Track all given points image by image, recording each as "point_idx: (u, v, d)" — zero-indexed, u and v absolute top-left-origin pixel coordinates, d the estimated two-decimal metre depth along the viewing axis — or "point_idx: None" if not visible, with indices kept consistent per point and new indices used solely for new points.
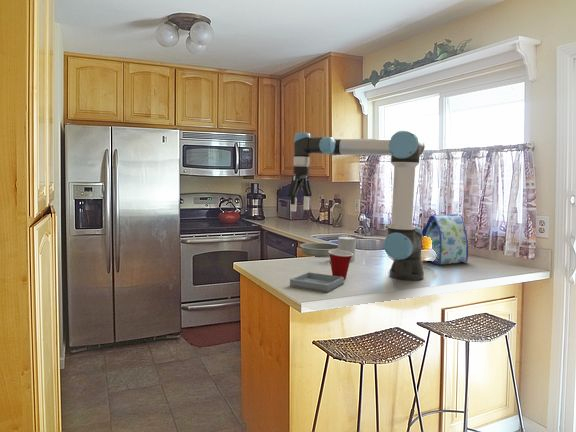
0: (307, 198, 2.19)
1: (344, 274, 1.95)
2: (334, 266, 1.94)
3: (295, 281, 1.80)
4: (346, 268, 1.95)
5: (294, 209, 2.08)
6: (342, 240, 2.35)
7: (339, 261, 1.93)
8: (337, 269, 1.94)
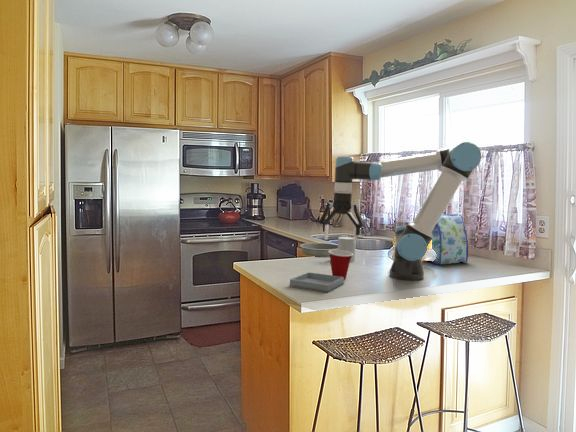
0: None
1: (344, 274, 1.95)
2: (334, 266, 1.94)
3: (295, 281, 1.80)
4: (346, 268, 1.95)
5: None
6: (342, 240, 2.35)
7: (339, 261, 1.93)
8: (337, 269, 1.94)
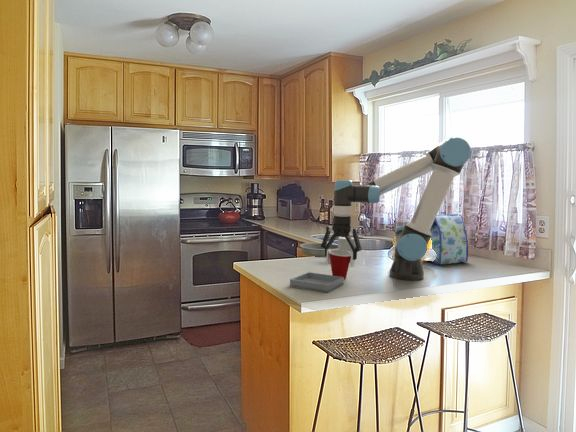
0: None
1: (344, 274, 1.95)
2: (334, 266, 1.94)
3: (295, 281, 1.80)
4: (346, 268, 1.95)
5: None
6: (342, 240, 2.35)
7: (339, 261, 1.93)
8: (337, 269, 1.94)
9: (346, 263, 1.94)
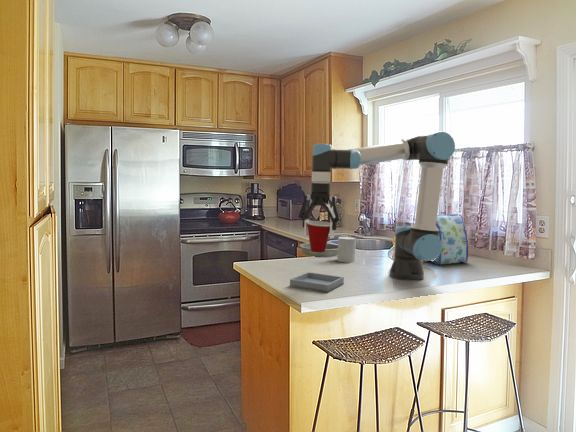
0: None
1: (323, 246, 1.80)
2: (312, 237, 1.80)
3: (295, 281, 1.80)
4: (325, 239, 1.80)
5: None
6: (342, 240, 2.35)
7: (318, 232, 1.78)
8: (315, 241, 1.79)
9: (325, 234, 1.79)
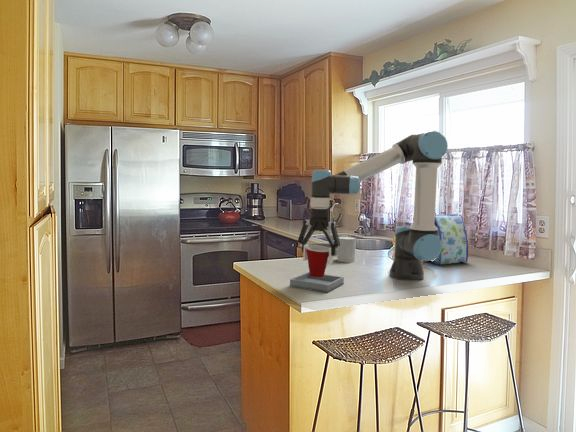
0: None
1: (322, 271, 1.81)
2: (311, 262, 1.81)
3: (295, 281, 1.80)
4: (324, 264, 1.81)
5: None
6: (342, 240, 2.35)
7: (317, 257, 1.79)
8: (314, 266, 1.80)
9: (324, 259, 1.80)
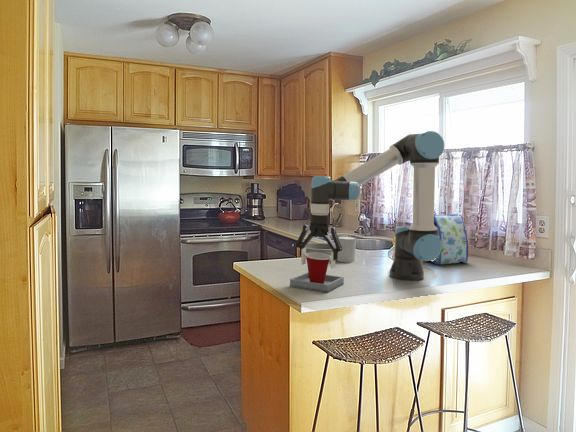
0: None
1: (322, 279, 1.82)
2: (311, 270, 1.81)
3: (295, 281, 1.80)
4: (324, 272, 1.81)
5: None
6: (342, 240, 2.35)
7: (316, 265, 1.79)
8: (314, 274, 1.81)
9: (324, 267, 1.80)
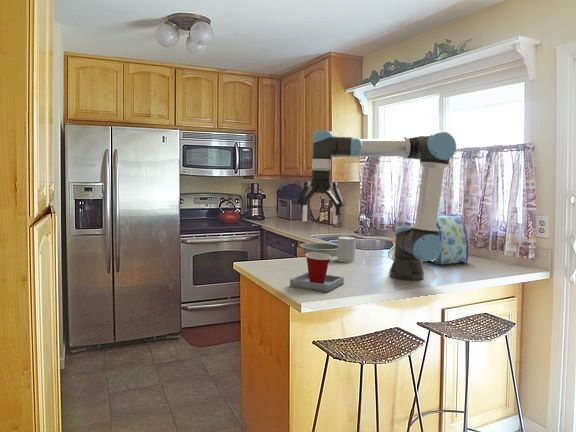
0: None
1: (322, 279, 1.82)
2: (311, 270, 1.81)
3: (295, 281, 1.80)
4: (324, 272, 1.81)
5: None
6: (342, 240, 2.35)
7: (316, 265, 1.79)
8: (314, 274, 1.81)
9: (324, 267, 1.80)
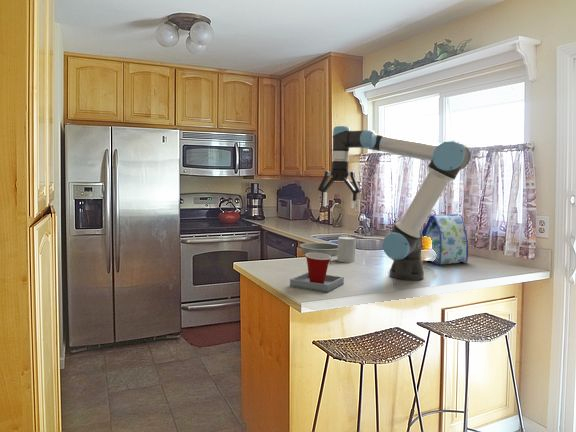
0: None
1: (322, 279, 1.82)
2: (311, 270, 1.81)
3: (295, 281, 1.80)
4: (324, 272, 1.81)
5: None
6: (342, 240, 2.35)
7: (316, 265, 1.79)
8: (314, 274, 1.81)
9: (324, 267, 1.80)
